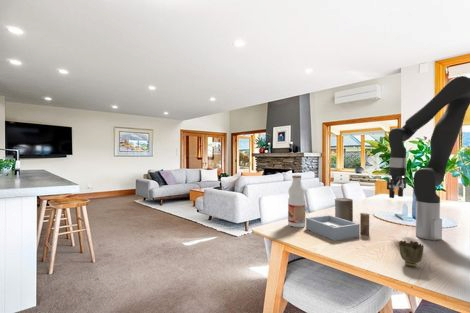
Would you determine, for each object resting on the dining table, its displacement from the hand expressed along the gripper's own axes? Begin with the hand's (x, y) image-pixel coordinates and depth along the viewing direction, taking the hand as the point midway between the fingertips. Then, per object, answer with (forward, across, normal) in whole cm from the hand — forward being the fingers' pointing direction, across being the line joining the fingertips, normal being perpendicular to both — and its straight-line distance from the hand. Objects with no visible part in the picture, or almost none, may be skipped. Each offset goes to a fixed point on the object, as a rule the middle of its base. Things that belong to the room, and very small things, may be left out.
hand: (396, 197), depth 135 cm
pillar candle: (+18, -10, +23) cm, 31 cm away
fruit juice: (+19, -38, +33) cm, 54 cm away
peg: (+18, -20, +4) cm, 27 cm away
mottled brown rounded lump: (+16, -41, -26) cm, 51 cm away
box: (+18, -33, +14) cm, 40 cm away
